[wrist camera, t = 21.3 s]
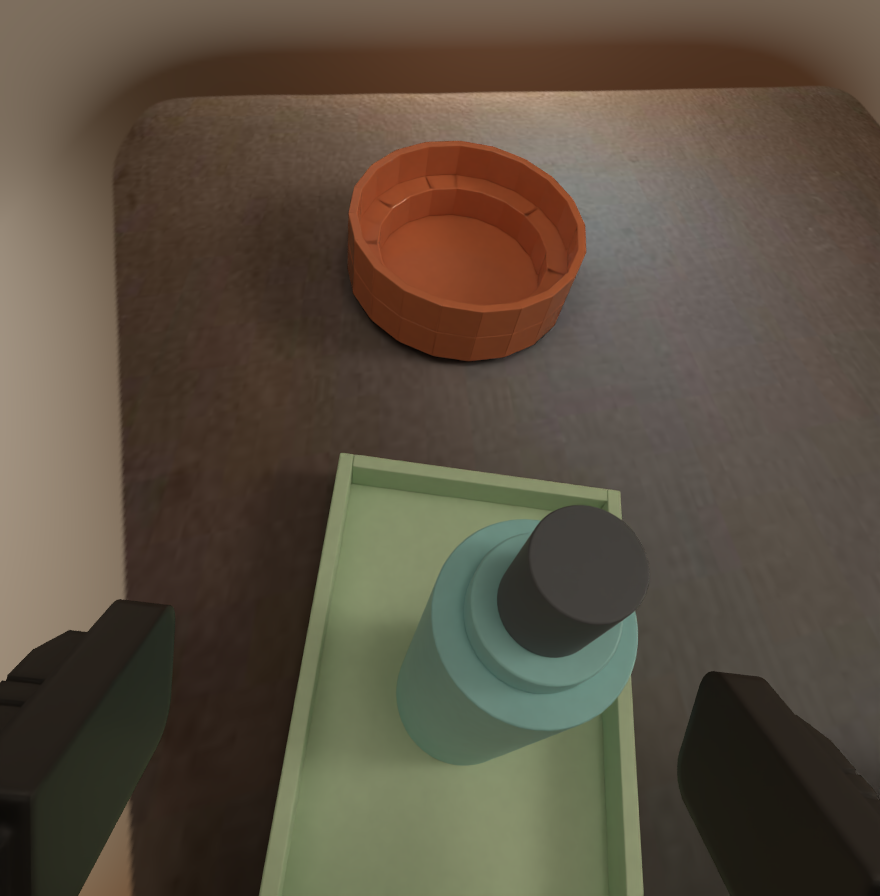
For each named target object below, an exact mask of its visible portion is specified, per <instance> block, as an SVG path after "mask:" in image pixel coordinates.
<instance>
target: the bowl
mask: <svg viewBox="0 0 880 896" xmlns="http://www.w3.org/2000/svg"><path fill="white" fill-rule="evenodd" d="M585 254H586V233H585V224H584V222H583V220H582V217H581V215H580V213H579V211H578V209H577V206H576V204H575V202H574V200H573V199H572V198H571V197H570V195H569V194H568V193H567V192H566V191H565V190H564V189H563V188H562V187H561V186H560V184H559V183H558V182H557V181H556V180H555V179H554V178H553V177H552V176H550V175H549V174H547V173H546V172H544V171H543V170H541V169H540V168H538V167H537V166H535V165H534V164H532V163H531V162H529V161H528V160H525V159H524V158H521V157H519V156H516V155H514V154H511V153H508V152H506V151H503V150H501V149H498V148H496V147H493V146H487V145H481V144H475V143H470V142H464V141H439V142H424V143H420V144H416V145H413V146H409V147H405V148H402V149H398V150H396V151H394V152H392V153H390V154H389V155H387V156H385V157H384V158H382V159H380V160H379V161H377V162H376V163H374V164H372V165H371V166H370V167H369V168H368V170H367V171H366V172H365V174H364V175H363V176H362V177H361V179H360V180H359V181H358V183H357V184H356V185H355V187H354V190H353V194H352V199H351V203H350V208H349V212H348V272H349V276H350V281H351V285H352V290H353V294H354V295H355V297H356V298H357V300H358V301H359V303H360V304H361V306H362V307H363V309H364V310H365V312H366V313H367V315H368V316H369V318H370V319H371V320H372V321H373V322H374V323H376V324H377V325H378V326H379V327H381V328H382V329H383V330H385V331H386V332H387V333H388V334H390V335H391V336H392V337H393V338H395V339H396V340H398V341H399V342H401V343H403V344H406V345H408V346H410V347H413V348H415V349H417V350H420V351H422V352H425V353H427V354H429V355H432V356H437V357H444V358H450V359H457V360H463V361H475V360H484V359H493V358H502V357H506V356H508V355H511V354H513V353H515V352H518V351H520V350H522V349H525V348H527V347H529V346H532V345H533V344H535V343H536V342H537V341H538V340H539V339H540V338H541V337H542V336H543V335H544V334H546V333H547V332H548V331H549V330H550V329H551V328H552V327H553V326H554V325H555V323H556V320H557V318H558V316H559V313H560V311H561V309H562V307H563V304H564V302H565V300H566V297H567V295H568V293H569V291H570V288H571V286H572V284H573V281H574V279H575V277H576V274H577V272H578V270H579V268H580V265H581V263H582V261H583V258H584V256H585Z"/></svg>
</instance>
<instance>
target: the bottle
mask: <svg viewBox="0 0 880 896" xmlns="http://www.w3.org/2000/svg"><path fill="white" fill-rule="evenodd" d="M648 585H649V564H648V559H647V556H646V553H645V550H644V548H643V546H642V544H641V542H640V540H639V539H638V537H637V536H636V534H635V533H634V532H633V531H632V529H631V528H630V527H629V526H628V525H627V524H626V523H624V522H623V521H622V520H621V519H619V518H618V517H617V516H615V515H613V514H611V513H610V512H607V511H605V510H603V509H600V508H597V507H593V506H587V505H572V506H566V507H563V508H559V509H557V510H555V511H553V512H551V513H550V514H548V515H547V516H545V517H544V518H543V519H542V520H541V521H540V520H531V519H516V520H508V521H502V522H498V523H495V524H492V525H489V526H487V527H484V528H482V529H480V530H478V531H476V532H475V533H473V534H472V535H470V536H469V537H467V538H466V539H465V540H464V541H463V542H462V543H460V544H459V545H458V546H457V547H456V548H455V550H454V551H453V552H452V553H451V554H450V555H449V557H448V559H447V560H446V562H445V563H444V565H443V566H442V569H441V571H440V573H439V575H438V577H437V580H436V582H435V585H434V587H433V590H432V592H431V594H430V597H429V599H428V602H427V604H426V607H425V609H424V612H423V614H422V617H421V619H420V621H419V624H418V626H417V629H416V631H415V634H414V636H413V639H412V641H411V644H410V646H409V649H408V651H407V653H406V656H405V658H404V661H403V663H402V666H401V669H400V672H399V675H398V680H397V688H396V698H397V706H398V711H399V715H400V718H401V721H402V723H403V725H404V727H405V729H406V731H407V733H408V734H409V736H410V737H411V739H412V740H413V741H414V742H415V743H416V744H417V745H418V746H419V747H420V748H421V749H422V750H423V751H424V752H426V753H427V754H429V755H430V756H431V757H433V758H435V759H437V760H439V761H442V762H445V763H448V764H453V765H462V766H468V765H476V764H480V763H484V762H486V761H489V760H491V759H494V758H497V757H499V756H502V755H504V754H507V753H509V752H512V751H515V750H517V749H520V748H522V747H525V746H527V745H530V744H533V743H535V742H538V741H540V740H543V739H545V738H548V737H550V736H553V735H556V734H558V733H561V732H563V731H566V730H568V729H571V728H574V727H576V726H579V725H581V724H583V723H585V722H588V721H590V720H591V719H593V718H595V717H596V716H598V715H599V714H601V713H602V712H603V711H604V710H606V709H607V708H608V707H609V706H610V705H611V704H612V703H613V702H614V701H615V700H616V698H617V697H618V696H619V695H620V693H621V692H622V690H623V689H624V687H625V685H626V684H627V682H628V680H629V677H630V675H631V672H632V670H633V667H634V663H635V659H636V654H637V646H638V626H637V618H636V613H635V610H636V609H637V608H638V607H639V606H640V604H641V603H642V601H643V599H644V597H645V595H646V593H647V589H648Z"/></svg>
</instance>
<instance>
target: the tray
mask: <svg viewBox="0 0 880 896" xmlns="http://www.w3.org/2000/svg"><path fill="white" fill-rule="evenodd" d="M572 505H587V506H593V507H597V508H600V509H603V510H605V511H607V512H610V513H611V514H613V515H615V516H617V517H618V518H619V519H621V520H622V516H621V499H620V491H616V490H607V489H601V488H594V487H586V486H579V485H572V484H565V483H557V482H550V481H543V480H536V479H528V478H521V477H514V476H507V475H499V474H492V473H485V472H478V471H470V470H463V469H456V468H449V467H441V466H434V465H427V464H420V463H412V462H405V461H398V460H391V459H383V458H376V457H369V456H362V455H353V454H346V453H341V454H340V457H339V462H338V467H337V473H336V478H335V484H334V489H333V495H332V500H331V506H330V511H329V516H328V522H327V527H326V533H325V538H324V544H323V549H322V555H321V560H320V565H319V571H318V576H317V582H316V587H315V593H314V598H313V604H312V609H311V614H310V620H309V625H308V631H307V636H306V642H305V647H304V653H303V658H302V663H301V669H300V674H299V680H298V685H297V691H296V696H295V702H294V707H293V713H292V718H291V723H290V729H289V734H288V740H287V745H286V751H285V756H284V762H283V767H282V772H281V778H280V783H279V789H278V794H277V800H276V805H275V811H274V816H273V821H272V827H271V832H270V838H269V843H268V849H267V854H266V860H265V865H264V870H263V876H262V881H261V887H260V892H259V896H644V892H643V875H642V858H641V841H640V824H639V807H638V790H637V773H636V756H635V738H634V721H633V704H632V687H631V675H630V677H629V680H628V682H627V684H626V685H625V687H624V689H623V690H622V692H621V693H620V695H619V696H618V697H617V698H616V700H615V701H614V702H613V703H612V704H611V705H610V706H609V707H608V708H607V709H606V710H604V711H603V712H602V713H601V714H599V715H598V716H596V717H595V718H593V719H591V720H590V721H588V722H585V723H583V724H581V725H579V726H576V727H574V728H571V729H568V730H566V731H563V732H561V733H558V734H556V735H553V736H550V737H548V738H545V739H543V740H540V741H538V742H535V743H533V744H530V745H527V746H525V747H522V748H520V749H517V750H515V751H512V752H509V753H507V754H504V755H502V756H499V757H497V758H494V759H491V760H489V761H486V762H484V763H480V764H476V765H468V766H462V765H453V764H448V763H445V762H442V761H439V760H437V759H435V758H433V757H431V756H430V755H429V754H427V753H426V752H424V751H423V750H422V749H421V748H420V747H419V746H418V745H417V744H416V743H415V742H414V741H413V740H412V739H411V737H410V736H409V734H408V733H407V731H406V729H405V727H404V725H403V723H402V721H401V718H400V715H399V711H398V706H397V698H396V688H397V680H398V675H399V672H400V669H401V666H402V663H403V661H404V658H405V656H406V653H407V651H408V649H409V646H410V644H411V641H412V639H413V636H414V634H415V631H416V629H417V626H418V624H419V621H420V619H421V617H422V614H423V612H424V609H425V607H426V604H427V602H428V599H429V597H430V594H431V592H432V590H433V587H434V585H435V582H436V580H437V577H438V575H439V573H440V571H441V569H442V566H443V565H444V563H445V562H446V560H447V559H448V557H449V555H450V554H451V553H452V552H453V551H454V550H455V548H456V547H457V546H458V545H459V544H460V543H462V542H463V541H464V540H465V539H466V538H467V537H469V536H470V535H472V534H473V533H475V532H476V531H478V530H480V529H482V528H484V527H487V526H489V525H492V524H495V523H498V522H502V521H508V520H516V519H531V520H540V521H541V520H542V519H543V518H544V517H545V516H547V515H548V514H550V513H551V512H553V511H555V510H557V509H559V508H563V507H566V506H572Z"/></svg>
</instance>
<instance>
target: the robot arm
mask: <svg viewBox="0 0 880 896" xmlns="http://www.w3.org/2000/svg"><path fill="white" fill-rule="evenodd" d="M174 633H175V612H174V608H173V607H172V606H171V605H163V604H154V603H146V602H138V601H129V600H121V599H119V600H116V601H115V602H114V603H113V604H112V605H111V606H110V607H109V608H108V609H107V610H106V612H105V613H104V614H103V615H102V616H101V617H100V618H99V619H98V621H97V622H96V623H95V624H94V625H93V626H92V627H91V628H90V630H89V631H88V632H81V631H72V630H69V631H67V632H65V633H63V634H61V635H59V636H57V637H56V638H54V639H52V640H50V641H48V642H46V643H44V644H43V645H41V646H39V647H37V648H35V649H33V650H32V651H31V652H30V653H29V654H28V655H27V656H26V657H25V658H24V659H23V660H22V661H21V662H20V663H19V664H18V665H17V666H16V667H15V668H14V669H13V670H12V671H11V672H10V673H9V674H8V676H7V679H6V681H1V682H0V896H78V895H79V893H80V891H81V889H82V887H83V885H84V883H85V881H86V880H87V878H88V876H89V874H90V872H91V870H92V868H93V867H94V865H95V863H96V861H97V859H98V857H99V855H100V853H101V851H102V849H103V847H104V846H105V844H106V842H107V840H108V838H109V836H110V834H111V832H112V830H113V829H114V827H115V825H116V823H117V821H118V819H119V817H120V815H121V814H122V812H123V810H124V808H125V806H126V804H127V802H128V800H129V799H130V797H131V795H132V793H133V791H134V789H135V787H136V785H137V784H138V782H139V780H140V778H141V776H142V774H143V772H144V770H145V768H146V767H147V765H148V763H149V761H150V759H151V757H152V755H153V753H154V751H155V750H156V748H157V746H158V744H159V741H160V739H161V737H162V734H163V731H164V728H165V725H166V721H167V717H168V713H169V707H170V701H171V687H172V669H173V651H174ZM855 770H856V769H855V768H854V767H853V766H852V765H851V763H850V762H849V761H848V760H847V759H846V758H845V757H844V755H843V754H842V753H841V752H840V751H839V750H838V748H837V747H836V746H835V745H834V744H833V743H832V742H831V741H830V740H829V739H828V738H827V737H825V736H824V735H823V734H821V733H820V732H819V731H817V730H816V729H815V728H813V727H812V726H811V725H809V724H808V723H807V722H805V721H804V720H803V719H801V718H800V717H799V716H797V715H795V714H794V713H793V712H792V711H791V710H790V708H789V707H788V706H787V705H786V704H785V702H784V701H783V700H782V699H781V698H780V697H779V695H778V694H777V693H776V692H775V691H774V689H773V688H772V687H771V686H770V685H769V683H768V682H767V681H766V680H764V679H763V678H761V677H757V676H749V675H740V674H732V673H723V672H715V671H711V672H708V673H707V674H706V675H705V676H704V677H703V679H702V681H701V684H700V686H699V690H698V693H697V696H696V699H695V703H694V706H693V709H692V713H691V716H690V719H689V723H688V726H687V729H686V732H685V736H684V739H683V742H682V746H681V749H680V752H679V757H678V765H677V775H678V784H679V789H680V793H681V796H682V799H683V801H684V803H685V805H686V807H687V809H688V811H689V813H690V815H691V817H692V819H693V821H694V823H695V825H696V827H697V829H698V831H699V833H700V835H701V837H702V839H703V841H704V843H705V845H706V847H707V849H708V851H709V853H710V855H711V857H712V859H713V861H714V863H715V865H716V867H717V869H718V871H719V873H720V875H721V878H722V880H723V882H724V884H725V886H726V888H727V890H728V892H729V894H730V896H880V800H878V799H877V793H876V792H875V791H874V790H873V789H872V788H871V786H870V785H869V784H868V783H867V782H866V781H865V780H864V778H863V777H862V776H861V775H856V772H855Z"/></svg>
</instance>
